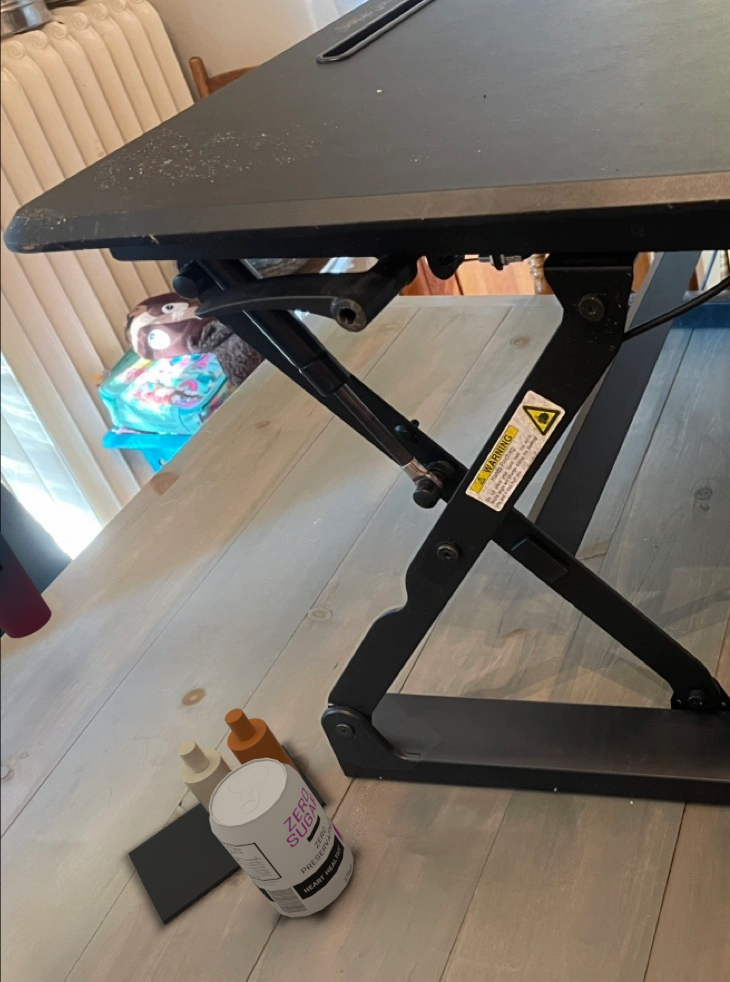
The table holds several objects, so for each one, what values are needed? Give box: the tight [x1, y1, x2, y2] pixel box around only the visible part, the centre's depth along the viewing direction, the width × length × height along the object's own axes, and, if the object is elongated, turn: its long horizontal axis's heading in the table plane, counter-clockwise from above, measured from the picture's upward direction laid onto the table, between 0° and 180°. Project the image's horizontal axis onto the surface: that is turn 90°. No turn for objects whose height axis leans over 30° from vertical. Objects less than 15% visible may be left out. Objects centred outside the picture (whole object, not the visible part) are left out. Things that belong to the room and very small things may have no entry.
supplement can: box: [209, 758, 355, 918], centre depth 99 cm, size 8×8×15 cm
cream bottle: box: [176, 739, 234, 814], centre depth 107 cm, size 4×4×12 cm
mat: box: [127, 744, 327, 925], centre depth 110 cm, size 18×11×1 cm, turn 132°
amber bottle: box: [224, 707, 302, 778], centre depth 110 cm, size 4×4×12 cm
